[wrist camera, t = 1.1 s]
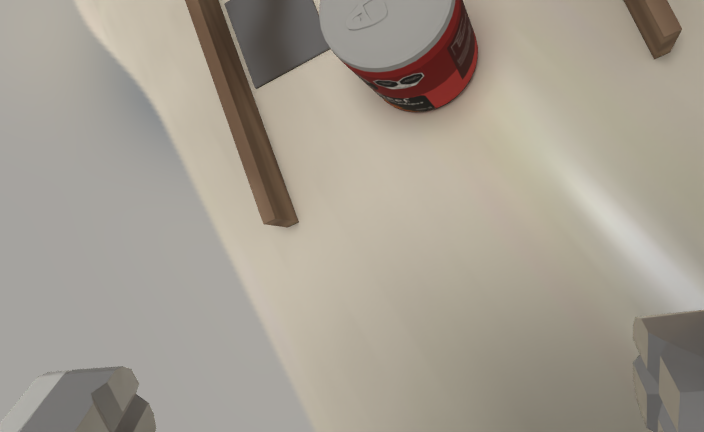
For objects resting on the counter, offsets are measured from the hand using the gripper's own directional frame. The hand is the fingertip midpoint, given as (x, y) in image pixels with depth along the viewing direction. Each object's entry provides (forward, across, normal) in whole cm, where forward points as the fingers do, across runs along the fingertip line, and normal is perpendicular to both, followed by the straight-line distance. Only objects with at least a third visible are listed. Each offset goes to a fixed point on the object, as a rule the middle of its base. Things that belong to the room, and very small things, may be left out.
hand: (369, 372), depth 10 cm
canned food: (+37, 0, +4) cm, 37 cm away
